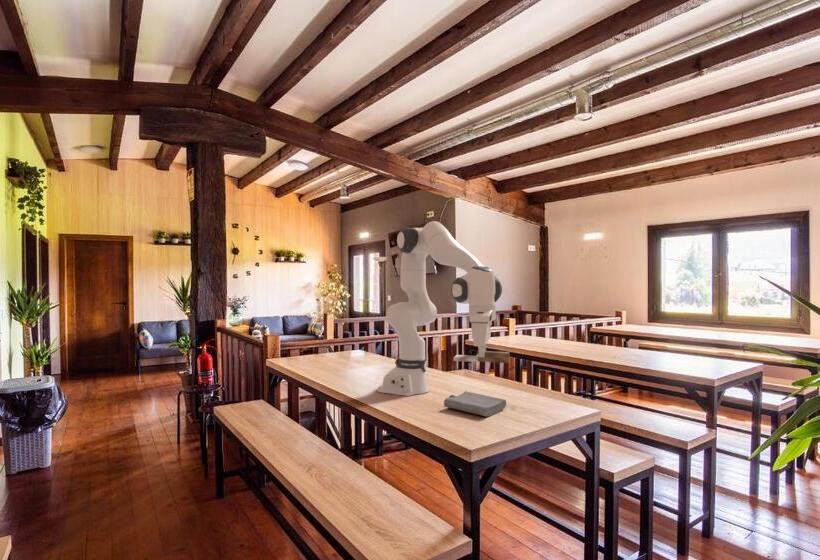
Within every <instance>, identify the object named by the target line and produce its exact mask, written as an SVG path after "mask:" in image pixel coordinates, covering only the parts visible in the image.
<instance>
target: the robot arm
mask: <svg viewBox="0 0 820 560" xmlns="http://www.w3.org/2000/svg"><path fill="white" fill-rule="evenodd" d="M396 244H397V245H396V246H397V248H398V250H399V251H400V252H401V253H402V254H401V261H400V278H399V279H400V282H399V284H400V288H401V290H402V291H403V292H405V293H406V295H407V297H408V301H403V302H402V301H399V302H396V303H394V304H391V305H390V306H389V307H388V308H387V311H386V315H385V316H386V321H387V323H388V324H389V325H390V326H391V327H392V328H393V329H394V330H395V332H396V334H397V337H398V342H399V357H397V359H395V361H394V363H395V367H393V368H392V369H391V370H389V372H387V373H385V375H384V376H383V380H382V384H381V385H379V386H378V387H377V392H378V393H382V394H383V393H384V394H390V395H391V394H392V395H398V396H406V397H407V396H414V395H421V394H426V393H428V392H429V391H430V388H429V385H428V381H427V380H428V379H427V372H426V371H427V358H426V341H425V339H424V338H423V337H422V336H421V335H419V333H418V330H417V327H422V326H428V325H429V324H431V323H434V322H435V321H436V319H437V316H438V308H437V307H436V305H435V304H434V303H433V302H432V301H431V299H430V297H429V294H428V291H427V275H426V274H427V262H426V259H427V257H428V256H429V255H430V257H431V258H432V259H433V260H434V261H435V262H436V263H438V264H439V265H443V266H447V267H448V266H449V267H454V268H458V269H461V270H463V271H465V272H466V273H465V274H463V275H462V276H460V277H456V278H455V279H454V280H453V282H452V284H451V287H450V288H451V291H450V292H451V296H452V298H453V299H454V300H455V302H457V303H458V304H462V305H463V304H467V305H468V320H469V323H471V335H472V343H473V346H474V347H477V348H478V351H479V357H484V356H485V351H487V348H488V347H487V346H488V345H487V343H488V342H489V340H490V339H491V326H492V325H493V322H494V321H495V320H496V318H497V317H496V313H497V312H496V306H497V305H496V302H497V301H498V300H499V299H500V297H501V295H502V292H503V288H502V287H503V286H502V283H501V281H500V280H499V279H498V277H496V276H495V274H494V270H493V269H492V267H491V268H490V267H488V266H484V265H483V264H482V263H481V262H480V261H479V259H478V258H477V257H476V256H475V255H473V253H472V252H471V251H469V250H468V249H466V248H465V247H463V246H462V245H461V244H460V243H458V241H456V239H455V238H454V237H453V235H452V234H451V233H450V232H449V230H448V229H447V228H446V226H444V225H443V224H442V223H441V222H440V221H436V220H434V221H429V222H428V223H426V224H425V225H424V226H423V227H405V228H401V229H400V230H399V231H398V234H397V235H396Z"/></svg>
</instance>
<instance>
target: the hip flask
mask: <svg viewBox="0 0 820 560" xmlns="http://www.w3.org/2000/svg"><path fill="white" fill-rule="evenodd" d="M443 406H444V407H446V408H451V409H454V410H456V411H457V410H458V411H462V412H466V413H470V414H474V415H479V416H483V417H490V416H494V415H496V414H498V413H500V412H501V411H502V410H504V409H505V407H507V400H506V399H503V398H499V397H494V396H490V395H485V394H481V393H477V392H471V391H466V390H465V391H464V392H463V393H461V394H459V395H454V394H450V395H449V397H446V398H445V399H444V401H443Z"/></svg>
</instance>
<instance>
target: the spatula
mask: <svg viewBox="0 0 820 560" xmlns="http://www.w3.org/2000/svg"><path fill="white" fill-rule="evenodd" d="M453 361H454V362H465V363H466V362H467V363H469V362H470V363H478V362H481V363H482V362H487V363H501V364H509V363H510V351H493V350H491V351H490V350H486V351H485V356H484V357H479V350H478V351H477V355H470V354H469V355H467V354H464V355H463V354H456V355H455V356H454V357H453Z"/></svg>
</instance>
